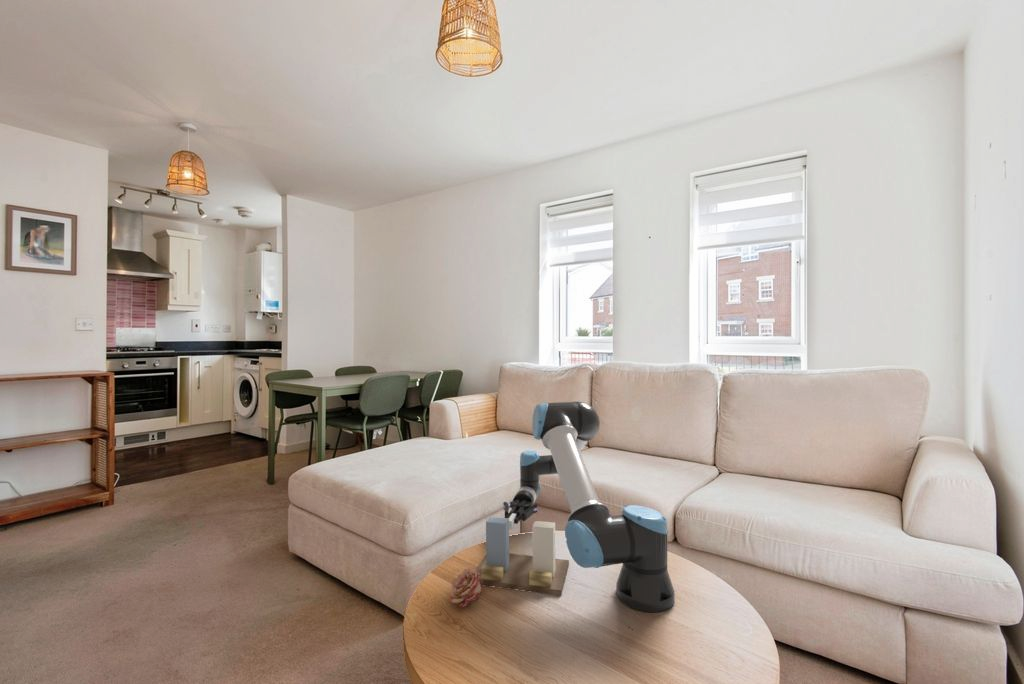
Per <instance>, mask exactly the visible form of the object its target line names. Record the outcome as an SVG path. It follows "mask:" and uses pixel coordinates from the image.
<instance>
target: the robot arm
mask: <svg viewBox="0 0 1024 684" xmlns="http://www.w3.org/2000/svg"><path fill="white" fill-rule="evenodd" d="M600 421H601V420H600V416H599V415H598V413H597V411H596V410H595V408H593V407H592V406H591V405H590V404H589V403H585V402H583V401H565V402H564V401H563V402H544V403H543V402H542V403H539V404H537V405H535V407H534V410H533V414H532V435H533V438H534V439H535V440H538V441H539V440H541V442H542V445H543V446H544V447H545V448H547V449H548V450H550V454H549V455H540V453H539V452H538V451H537V450H525V451H522V452H521V453H520V456H519V472H520V475H519V476H520V480H519V484H520V487H519V489H518V491H517V492H516V494H515V495H514V497H513V499H512V501H510V503H509V502H507V501H504V502H503V503H502V504H503V509H502V510H503V511H504V518H509V530H513V528H514V527H515V525H516V524H519V522H520V521H522V522H526V521H527V520H528V519H529V518H530V517H531V516H532V515H534V514H536V513H538V504H535V502H536V500H537V499H538V497H539V496H540V494H541V489H542V488H541V487H542V485H541V483H540V476H546V475H547V476H548V475H558V479H559V481H560V484H561V486H562V487H561V488H562V490H563V494H564V496H565V499H566V502H567V506H568V508H569V511H570V514H569V515H568V518H567V522H566V524H565V527H564V538H565V539H566V541H565V543H566V547H567V549H568V552H569V555H570V557H571V558H572V560H573V561H574V562H575V563H576V564H577V565H578V566H580V568H583V569H588V568H593V569H594V568H595V569H599V568H601V567H607V566H614V565H619V564H620V565H621V564H622V565H621V569H620V572H619V574H618V578H617V580H616V583H615V584H616V585H615V587H616V589H615V592H616V593H615V594H616V596H617V598H618V599H619V600H620V602H621V603H623V604H625V605H626V606H627V607H629V608H632V609H634V610H637V611H640V610H641V611H642V612H645V611H646V612H647V613H659V612H665V611H667V610H669V609H670V608H672V607H673V605H675V600H676V599H675V598H676V597H675V588H674V586H673V582H672V579H671V576H670V574H669V570H668V534H669V530H668V529H669V528H668V523H667V522H668V521H667V518H666V516H665V515H664V514H663V513H661V512H660V511H658V510H655V509H653V508H650V507H647V506H643V505H635V504H634V505H633V504H631V505H626V506H624V507H622V510H621V514H620V515H619V514H618V515H612V514H611V513H610V510H609V507H608V506H607V505H606V504H605V503H604V504H603V503H602V502H600V499H599V497H598V494H597V492H596V490H595V488H594V485H593V482H592V480H591V476H590V475H589V472H588V468H587V466H586V464H585V462H584V459H583V456H582V453H581V450H583V448H584V447H585V446H586V444H587V443H588V442H590V441H592V440H593V439H594V438H595V437H596V436H597V434H598V432H599V430H600V427H601V423H600ZM509 510H510V511H509ZM641 611H640V612H641ZM646 612H645V613H646Z"/></svg>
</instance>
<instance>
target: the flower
mask: <svg viewBox="0 0 1024 684" xmlns="http://www.w3.org/2000/svg"><path fill="white" fill-rule="evenodd" d="M477 571H478V570H477ZM477 571H476V570H473V569H469V568H465V569H464V570H463V571H462V573H460V574H459V575H457V577H456V578H455V579H453V581H452V582H451V588H452V590H451V594H450V595H449V598H450V602H451V603H452V604H459V603H460V604H459V605H458V607H459V608H460V607H461V608H463V607H465V606H467V605H469V603H470V602H472V601H474V600H477V601H478V600H479V599H480V594H481V591H482V589H483V586H482V584H481V582H480V579H479V578H481V575H480V573H479V572H477ZM482 581H483V579H482ZM463 601H464V602H463ZM461 602H462V603H461Z"/></svg>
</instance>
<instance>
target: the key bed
mask: <svg viewBox="0 0 1024 684" xmlns="http://www.w3.org/2000/svg"><path fill="white" fill-rule="evenodd" d="M569 566H570V560H569V559H560V558H556V570H555V574H554V577H552V573H548V572H539V571H533V555H526V554H525V555H524V554H517V553H509V567H508V569H507V570H506V571H503V567H497V566H488V565H486V554H485V555H484V557H483V558H482V560H481V561H480V564H478V566H477V567H476V569H475V571H477V570H478V571H477V572H479V573H480V575H481V578H479V579H480V582H481V584H482V585H485V586H484V587H490V586H495V587H494V588H497V587H502V588H501V589H505V588H510V589H509V590H513V589H518V590H517V591H521V590H525V591H524V592H528V591H531V593H536V592H537V593H538V594H546V595H554V596H562V594H563V591H564V587H565V582H566V577H567V574H568V571H569ZM482 579H483V581H482Z"/></svg>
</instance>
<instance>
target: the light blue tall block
mask: <svg viewBox="0 0 1024 684" xmlns="http://www.w3.org/2000/svg"><path fill="white" fill-rule="evenodd" d="M485 546H486V547H485V552H486V553H485V555H486V565H488V566H497V567H503V571H506V570H507V569H508V567H509V554H510V529H509V518H505V517H500V516H499V517H498V516H497V517H496V516H489V517H488V519H487V520H486V521H485Z"/></svg>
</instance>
